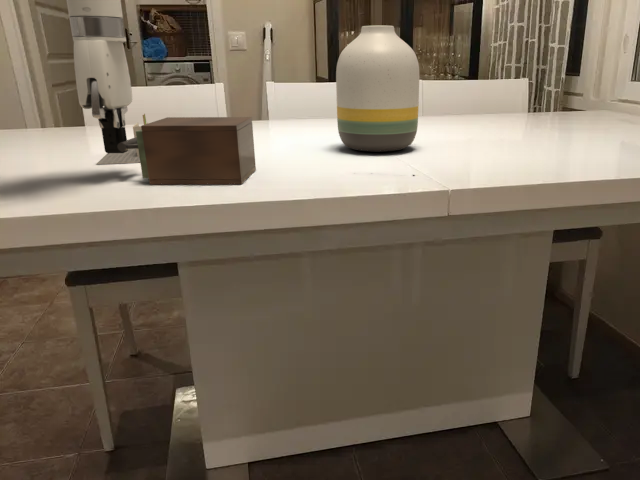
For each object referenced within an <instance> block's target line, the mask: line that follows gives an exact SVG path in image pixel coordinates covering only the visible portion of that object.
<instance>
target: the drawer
mask: <svg viewBox="0 0 640 480" xmlns="http://www.w3.org/2000/svg"><path fill="white" fill-rule="evenodd" d="M117 147H118V149H119V150H120V151H122V152H123V151H126V150H128V149H138V150H139V157H140V162H139V163H140V168H141V170H140V171H141V175H142V179H149V176H148V169H147V162H146V156H145V149H144V142H143V136H142V129H141V130H138V131H136V137H135V138H134V137H132V138H129V139H127V140H126V141H124V142H121V143H119V144H118V146H117Z"/></svg>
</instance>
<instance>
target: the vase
mask: <svg viewBox="0 0 640 480" xmlns="http://www.w3.org/2000/svg"><path fill="white" fill-rule="evenodd" d="M335 70H336V71H335V85H336V87H335V88H336V90H335V91H336V118H337V119H336V121H337V132H338V136H339V138H340V140H341V143H342V144H343V145H344V146H346V147H347V148H348V149H351V150H354V151H360V152H371V153H380V152H381V153H384V152H394V151H401V150H403V149H406V148H408V147H409V146H411V144H413V142H414V140H415V139H416V137H417V136H416V135H417V131H418V125H419V103H420V101H419V100H420V64H419V61H418V57H417V54H416V52H415V51H414V50H413V48H412V47H411V46H410V45H409V44H408V43H407V42H405V41H404V40H403V39H402V38H401V37H399V36H398V34H397V33H396V31H395V26H394V25H362V26H361V29H360V33H359V34H358V36H356V37H355V38H354V39H353V40H352V41H351V42H349V43H348V44H347V45H346V46H345V47H344V48H343V50H342V51H341V52H340V54H339V57H338V59H337V62H336V69H335Z"/></svg>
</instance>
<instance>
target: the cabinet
mask: <svg viewBox="0 0 640 480" xmlns="http://www.w3.org/2000/svg"><path fill="white" fill-rule="evenodd" d="M147 123H148V124H147ZM147 123H146V124H145V125H144V124H142V125H140V126H141V129H142V136H143V142H144V149H145V156H146V162H147V169H148V176H149V178H148V182H149V185H151V186H155V185H156V186H159V185H160V186H162V185H163V186H164V185H165V186H166V185H168V186H169V185H170V186H172V185H173V186H176V185H177V186H179V185H180V186H181V185H186V186H188V185H189V186H190V185H191V186H193V185H194V186H195V185H196V186H197V185H202V186H203V185H206V186H207V185H208V186H210V185H211V186H212V185H215V186H216V185H222V186H224V185H225V186H226V185H227V186H229V185H235V186H236V185H237V186H238V185H240V186H241V185H243V184H244V183H245V182H246V181H247V179H248V178H250V177H251V176H252V175H253V173H255V172H256V170H257V167H256V154H255V143H254V142H255V141H254V128H253V127H254V126H253V117H252V116H203V117H202V116H197V117H196V116H194V117H193V116H190V117H189V116H186V117H185V116H183V117H182V116H181V117H180V116H179V117H177V116H176V117H175V116H172V117H170V116H169V117H168V116H167V117H164V118H161V119H158V120H154V121H152V122H147Z"/></svg>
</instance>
